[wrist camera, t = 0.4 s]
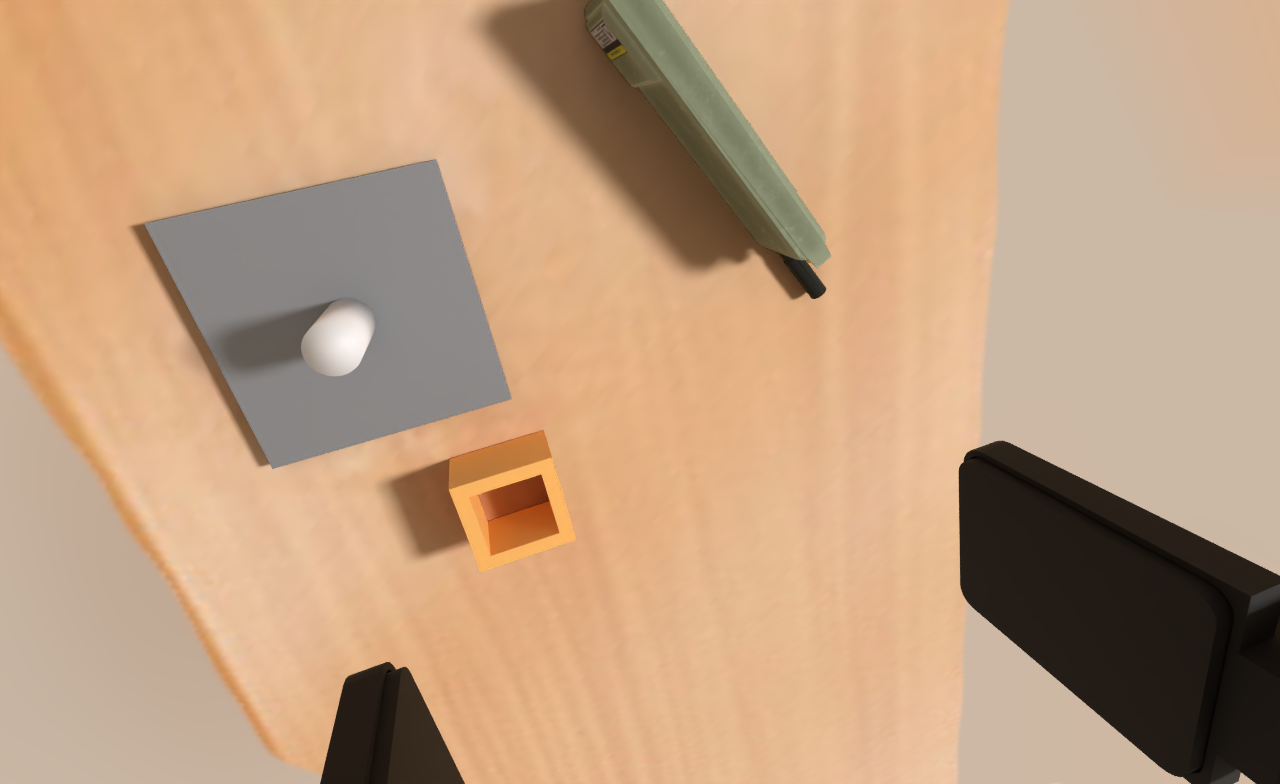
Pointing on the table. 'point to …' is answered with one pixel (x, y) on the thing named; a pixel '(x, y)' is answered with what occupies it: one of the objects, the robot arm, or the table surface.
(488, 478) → the orange open box
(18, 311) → the table surface
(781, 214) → the handheld radio
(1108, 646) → the robot arm
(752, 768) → the table surface
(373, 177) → the plate
